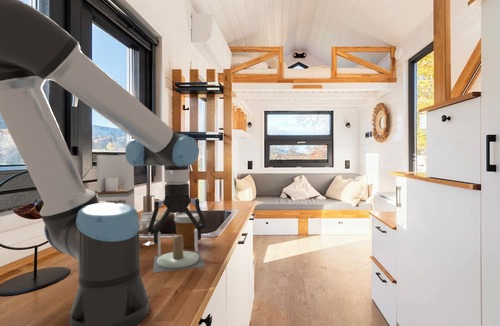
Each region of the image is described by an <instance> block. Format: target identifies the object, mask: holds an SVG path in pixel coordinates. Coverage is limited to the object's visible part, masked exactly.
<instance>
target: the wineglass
mask: <svg viewBox="0 0 500 326" xmlns="http://www.w3.org/2000/svg"><path fill="white" fill-rule="evenodd" d="M153 212H154V211H145V212H140V213H139V215H140V216H139V223H140V224H141V225H142V226H144V227H146V228H147V229H148V227H149V224H150V221H151V218H152V215H153ZM158 219H159V216H158V215H157V216H156V219H155V222H154V225H153V226H155V225H156V224H157V222H158ZM147 233H148V234H147V235H148V241H147V242H144V243H142V245H143V246H151V245H155V244H154V241H151V233H149V232H148V231H147Z"/></svg>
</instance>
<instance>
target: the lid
mask: <svg viewBox="0 0 500 326" xmlns="http://www.w3.org/2000/svg"><path fill="white" fill-rule="evenodd" d="M161 255H162V256H160V257H159V258H158V259H157V265H158V266H160V267H162V268H167V269H177V268H184V267H188V266H191V265H194V264H196V263H197V262H198V261H199V255H198V254H197V253H195V251H191V250H184V248H183V235H177V234H174V235H173V236H172V251H171V252H167V253H163V254H161Z"/></svg>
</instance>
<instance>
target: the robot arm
mask: <svg viewBox="0 0 500 326" xmlns="http://www.w3.org/2000/svg"><path fill="white" fill-rule="evenodd" d="M46 81H53V82H55V83H56V84H58V85H59V86H61V87H62V88H63V89H65V90H66V91H67V92H68V93H71V94H72V95H73V96H75V98H77V99H79V100H80V101H82V102H83V103H84V104H85V105H86V106H87V107H89V108H91V109H92V110H94V111H95V112H97V113H98V114H99V115H100V116H102V117H103V118H104V119H106V120H108V121H109V122H110V123H112V124H113V125H115V126H116V127H117V128H118V129H120V130H121V131H122V132H124V133H125V134H127V135H128V136H130V137H131V138H132V139H130V140H129V141H128V142H127V144H126V146H125V150H124V151H125V154H124V155H126V159H127V161H128V163H129V164H131V165H133V166H135V167H136V166H137V167H145V166H147V167H148V166H159V167H160V166H162V167H164V171H163V173H164V177H163V178H164V182H165V183H166V184H165V185H164V199H163V200H159V199H158V200H157V199H156V200H155V201H154V209H153V211H152V212H153V215H152V218H151V221H150V224H149V227H148V228H147V233H148V232H149V233H150V234H153V242H154V244H153V245H157V255H162V250H161V249H162V248H161V246H162V245H161V244H162V243H161V239H162V238H161V232H160V230H161V229H162V227H163V225H164V223H165V222H166V220H168V219H167V218H168V217H169V216H170V214H171V213H172V214H177V213H179V214H181V213H186V214H187V215H188V217H189V218H190V220H191V221H192V222H193V224H194V225H195V227H196V228H197V229H194V232H195V246H194V249H195V250H194V252H195V251H199V241H201V239H202V230H203V229H206V228H207V223H206V220H205V217H204V215H203V211H202V209H201V207H200V199H199V198H198V197H195V198H191V197H190V185H189V183H188V182H189V181H190V170H189V169H190V168H189V166H191V165H193V164H194V163H195V162H196V161H197V160H198V157H199V154H200V149H199V148H200V147H199V145H198V142H197V141H196V139H195V138H193V137H191V136H188V135H186V134H183V133H182V134H180V133H177V132H176V131H174V129H173V128H171V127H170V126H169V125H167V124H166V123H165V122H164V121H163V120H162V119H160V118H159V117H158V115H156V114H155V113H154V112H153V111H151V110H150V109H149V108H147V106H146V105H144V104H143V103H142V102H141V101H139V100H138V99H137V98H136V97H134V95H132V94H131V93H130V92H129V91H128V90H127V89H125V88H124V87H123V86H122V85H121V84H120V83H119V82H118V81H116V80H115V79H114V78H112V77H111V76H110V75H109V74H108V73H106V71H104V70H103V69H102V68H101V67H100V66H99V65H98V64H96V63H95V62H94V61H92V60H91V59H90V58H89V57H88V56H87V55H86V54H85V53H83V52H82V50H81V46H80V42H79V41H78V40H77V39H75V38H74V37H73V36H72V35H71V34H69V32H68V31H66V30H65V29H63V28H62V27H61V26H60V24H57V23H56V22H55V21H54V20H52V19H51V18H50V17H48V16H47V15H45V14H44V13H43V12H41V11H39V10H38V9H36V8H34V7H33V6H31V5H29V4H28V3H26V2H24V1H21V0H0V116H1V118H2V120H3V122H4V124H5V126H6V129H7V130H8V132H9V135H10V137H11V139H12V141H13V143H14V145H15V146H16V148H17V151H18V153H19V156H20V157H21V159H22V162H23V163H24V165H25V167H26V169H27V171H28V173H29V175H30V177H31V180H32V182H33V184H34V186H35V188H36V189H37V192H38V194H39V196H40V198H41V201H42V202H43V205H42V207H41V209H40V211H39V215H40V217H41V219H42V221H43V224H44V237H45V238H46V240H47V242H48V243H49V245H51V247H52V248H53V249H55V250H56V251H58V252H60V253H62V254H66V255H67V256H70V257H73V258H74V259H76V260H77V265H78V266H77V267H78V268H77V269H78V270H77V271H78V288H77V290H76V291H77V292H76V295H75V298H74V299H73V302H72V303H73V304H72V306H71V310H70V312H69V318H68V319H69V322H68V323H69V326H136V325H138V324H139V323H140V322H142V321H143V320H144V319H145V318H146V317H147V316H148V314H149V311H150V298H149V295H148V293H147V290H146V287H145V285H144V283H143V280H142V277H141V272H140V271H141V270H140V264H141V263H140V257H141V256H140V228H141V225H140V224H141V222H140V217H139V213H138V211H137V209H136V208H134V207H132V206H129V205H126V204H121V203H118V204H115V203H105V202H100V201H98V195H97V194H96V192H95V191H94V190H90V189H87V188H86V187H85V185H84V182H83V180H82V178H81V175H80V173H79V170H78V168H77V166H76V164H75V162H74V159H73V157H72V155H71V152H70V150H69V148H68V145H67V142H66V140H65V138H64V136H63V133H62V132H61V129H60V126H59V123H58V121H57V120H56V117H55V115H54V112H53V111H52V110H53V109H52V108H51V106H50V103H49V101H48V99H47V96H46V94H45V92H44V90H43V86H44V84H45V83H46ZM191 203H192V205H193V206H195V209H196V213H197V214H198V215H199V218H200V219H199V221H200V223H199V221H198V222H197V221H196V219H195V218H194V217H193V215H192V214H191V213H192V212H191V211H190V209H189V208H188V207H189V206H190V204H191ZM162 205H164V207H166V209H165V211H164V212H163V215H162V217H161V218H160V220H159V222H158V223H156V224H157V225H156V227H154V226H155V225H154V222H155V219H156V216H158V213H159V208H162Z"/></svg>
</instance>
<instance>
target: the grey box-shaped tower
mask: <svg viewBox="0 0 500 326" xmlns="http://www.w3.org/2000/svg"><path fill="white" fill-rule="evenodd" d="M134 168H135V167H134V166H133V165H131V164H129V163H128V161H127V159H126V154H117V155H116V154H113V155H111V154H110V155H109V154H108V155H107V154H96V178H97V185H96V186H97V198H98V201H99V202H104V203H115V204H118V203H121V204H126V205H129V206H132V207H134V208H135V205H136V204H135V170H134ZM135 209H136V208H135Z"/></svg>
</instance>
